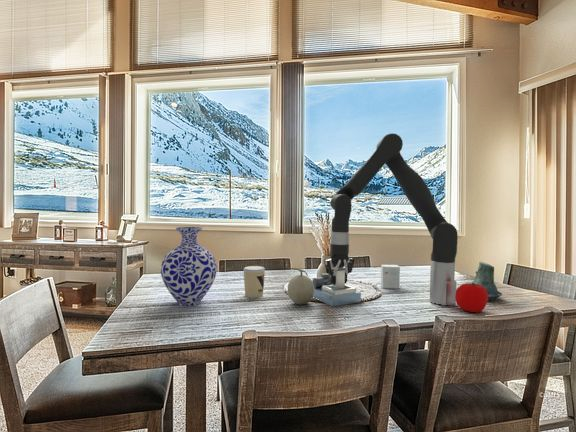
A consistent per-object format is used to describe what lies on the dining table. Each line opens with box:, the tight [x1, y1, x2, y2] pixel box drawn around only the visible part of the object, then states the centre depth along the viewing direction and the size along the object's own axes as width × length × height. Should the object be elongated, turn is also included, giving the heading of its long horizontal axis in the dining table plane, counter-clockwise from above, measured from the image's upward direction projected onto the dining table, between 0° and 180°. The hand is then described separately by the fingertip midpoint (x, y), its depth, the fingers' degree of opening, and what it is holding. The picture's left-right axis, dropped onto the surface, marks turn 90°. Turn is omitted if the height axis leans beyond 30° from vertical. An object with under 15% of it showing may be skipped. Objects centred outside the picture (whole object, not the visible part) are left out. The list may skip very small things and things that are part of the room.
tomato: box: [455, 282, 489, 313], centre depth 145 cm, size 12×12×11 cm
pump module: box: [333, 267, 346, 288], centre depth 156 cm, size 5×5×8 cm
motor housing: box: [311, 273, 362, 307], centre depth 160 cm, size 18×14×9 cm
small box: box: [380, 264, 401, 290], centre depth 182 cm, size 8×6×10 cm
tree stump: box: [470, 261, 503, 301], centre depth 166 cm, size 18×20×18 cm
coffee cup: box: [243, 265, 266, 298], centre depth 164 cm, size 9×9×12 cm
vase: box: [160, 226, 218, 307], centre depth 151 cm, size 22×22×30 cm
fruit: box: [285, 266, 314, 305], centre depth 152 cm, size 10×12×15 cm
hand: (338, 283), depth 157 cm, fingers closed on pump module, 4 cm apart
